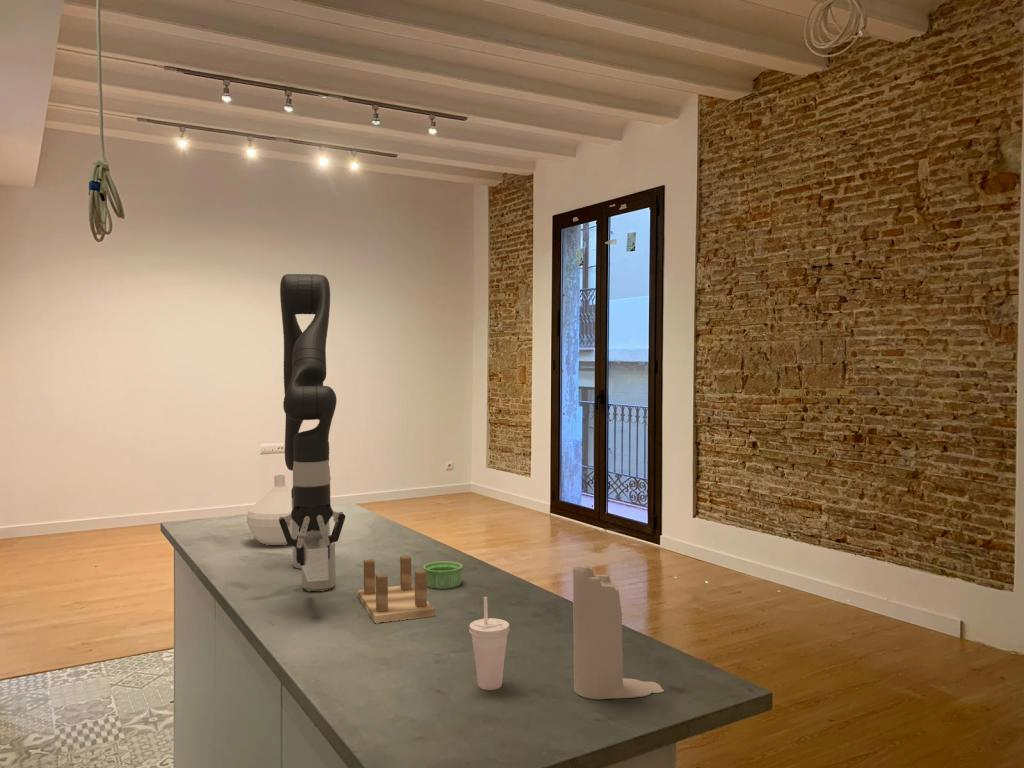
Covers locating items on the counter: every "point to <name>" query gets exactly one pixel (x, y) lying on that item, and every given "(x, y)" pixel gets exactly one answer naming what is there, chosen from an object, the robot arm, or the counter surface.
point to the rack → (395, 594)
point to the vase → (271, 514)
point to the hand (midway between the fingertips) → (312, 563)
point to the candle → (600, 640)
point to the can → (324, 583)
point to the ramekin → (443, 574)
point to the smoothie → (489, 649)
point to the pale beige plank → (315, 557)
